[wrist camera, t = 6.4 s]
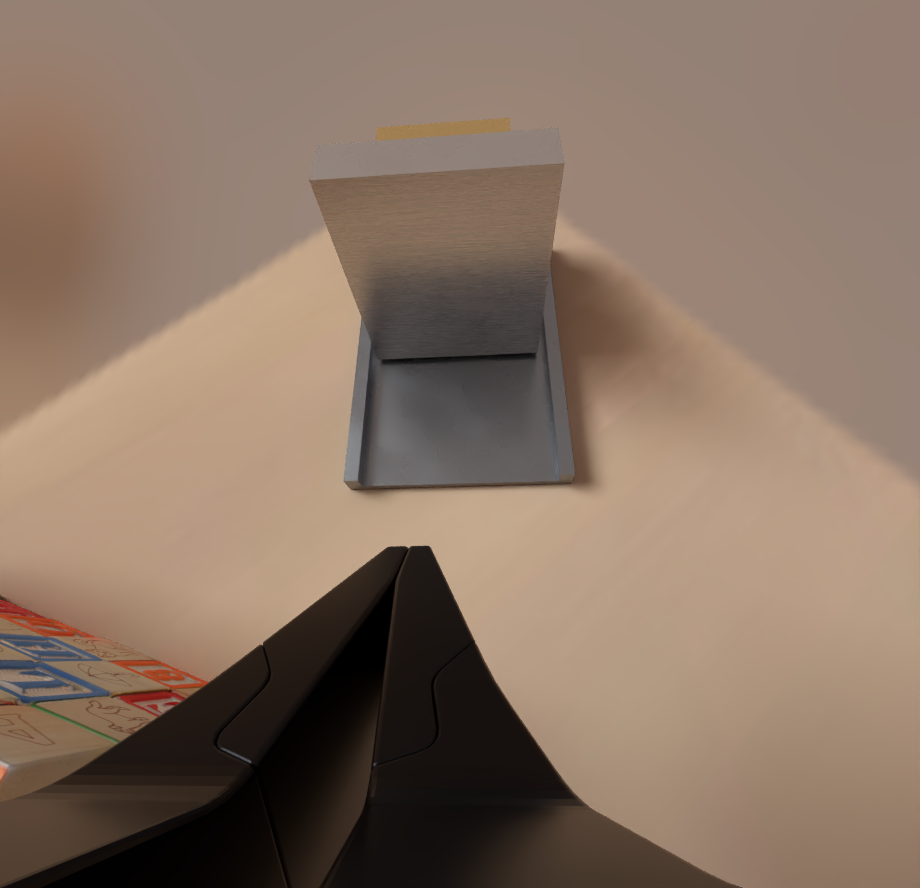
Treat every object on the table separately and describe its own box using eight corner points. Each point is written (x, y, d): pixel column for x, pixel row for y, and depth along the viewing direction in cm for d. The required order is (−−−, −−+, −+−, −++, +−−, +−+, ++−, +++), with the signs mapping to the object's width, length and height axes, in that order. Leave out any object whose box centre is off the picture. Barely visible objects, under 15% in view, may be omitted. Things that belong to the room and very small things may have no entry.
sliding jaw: (537, 352, 26) (564, 163, 16) (377, 359, 26) (309, 180, 16) (534, 324, 27) (559, 127, 17) (380, 331, 27) (316, 145, 17)
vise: (571, 483, 23) (592, 435, 18) (350, 489, 24) (313, 444, 19) (544, 248, 30) (554, 168, 25) (374, 258, 31) (351, 181, 26)
